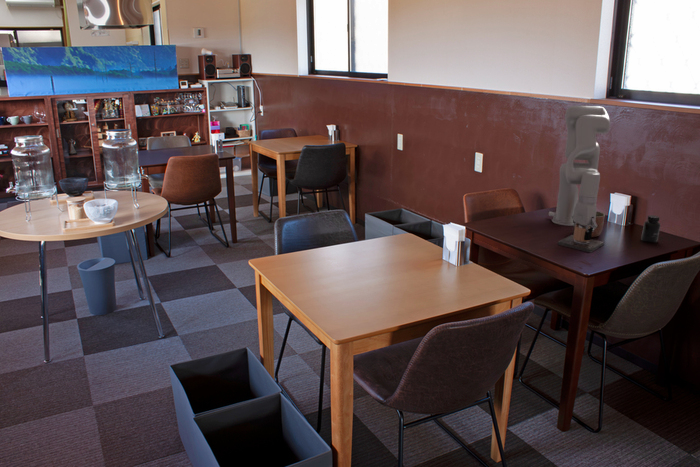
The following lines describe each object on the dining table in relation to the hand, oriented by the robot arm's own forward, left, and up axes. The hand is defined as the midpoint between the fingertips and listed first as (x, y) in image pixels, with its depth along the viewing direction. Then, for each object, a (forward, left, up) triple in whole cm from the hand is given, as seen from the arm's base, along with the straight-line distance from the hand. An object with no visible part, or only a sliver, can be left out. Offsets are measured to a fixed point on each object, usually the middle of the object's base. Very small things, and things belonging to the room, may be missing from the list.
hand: (581, 237), depth 249 cm
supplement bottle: (+20, +29, -4) cm, 36 cm away
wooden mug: (0, 0, -1) cm, 1 cm away
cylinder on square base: (0, 0, -4) cm, 4 cm away
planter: (-4, +17, -4) cm, 18 cm away
